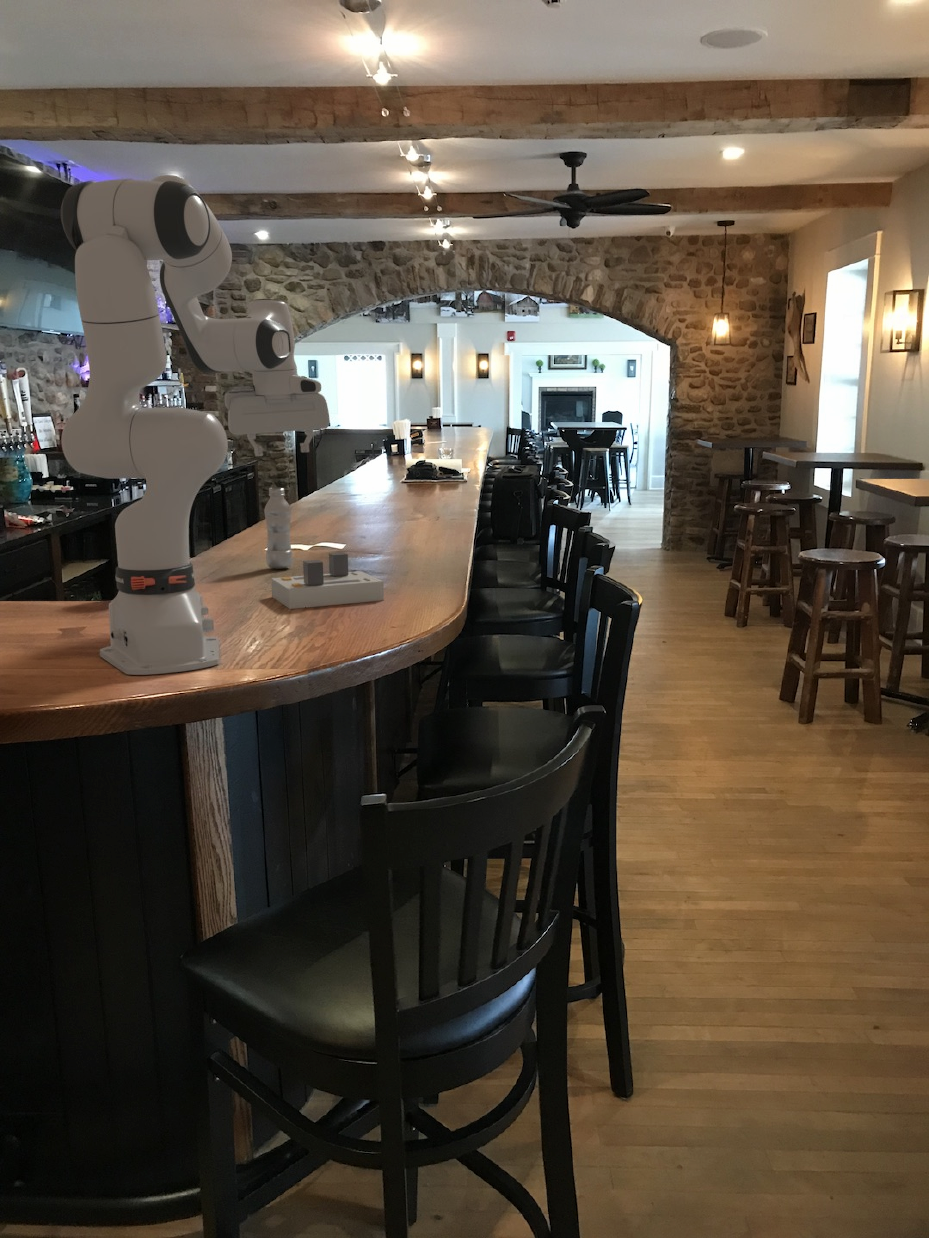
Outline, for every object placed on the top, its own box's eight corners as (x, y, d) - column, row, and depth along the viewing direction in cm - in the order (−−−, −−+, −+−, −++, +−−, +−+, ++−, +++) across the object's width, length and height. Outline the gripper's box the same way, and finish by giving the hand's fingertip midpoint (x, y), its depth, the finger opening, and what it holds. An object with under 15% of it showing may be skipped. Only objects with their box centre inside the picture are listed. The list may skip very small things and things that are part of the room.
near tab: (323, 584, 189) (322, 562, 188) (308, 585, 188) (307, 563, 187) (318, 581, 192) (318, 559, 191) (303, 582, 191) (302, 561, 190)
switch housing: (383, 600, 194) (383, 579, 193) (289, 608, 186) (288, 587, 185) (361, 589, 207) (360, 569, 206) (271, 596, 198) (271, 576, 197)
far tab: (348, 575, 200) (347, 554, 199) (334, 576, 198) (333, 555, 197) (343, 572, 203) (342, 552, 202) (329, 573, 201) (328, 553, 200)
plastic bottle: (265, 567, 236) (261, 487, 231) (292, 566, 238) (288, 487, 233) (267, 571, 230) (263, 489, 225) (295, 570, 232) (291, 489, 227)
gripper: (224, 388, 181) (232, 460, 185) (328, 383, 187) (333, 452, 192) (221, 386, 186) (228, 456, 191) (322, 381, 193) (327, 448, 197)
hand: (282, 454), depth 191 cm, fingers open, 8 cm apart
